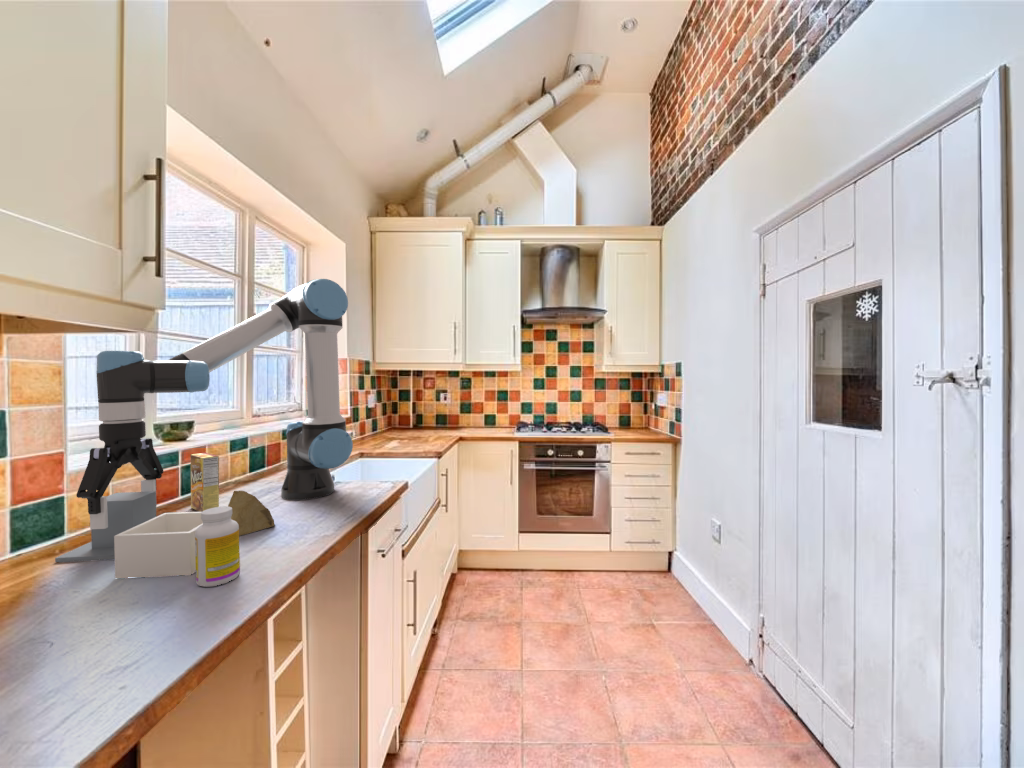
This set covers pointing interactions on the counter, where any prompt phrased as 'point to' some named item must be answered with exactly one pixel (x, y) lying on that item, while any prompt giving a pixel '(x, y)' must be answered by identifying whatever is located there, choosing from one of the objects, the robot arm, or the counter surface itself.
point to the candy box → (204, 481)
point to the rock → (249, 513)
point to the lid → (115, 525)
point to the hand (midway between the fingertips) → (126, 517)
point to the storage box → (158, 547)
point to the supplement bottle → (217, 547)
